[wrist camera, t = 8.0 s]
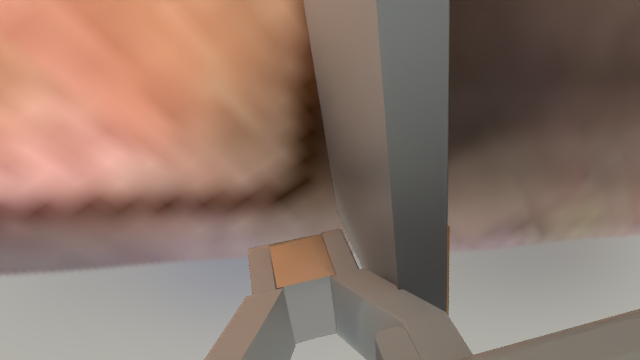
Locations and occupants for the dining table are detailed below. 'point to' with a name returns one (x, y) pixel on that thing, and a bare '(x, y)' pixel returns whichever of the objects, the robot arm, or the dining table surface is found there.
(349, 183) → the side door
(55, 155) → the dining table surface
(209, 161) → the dining table surface
